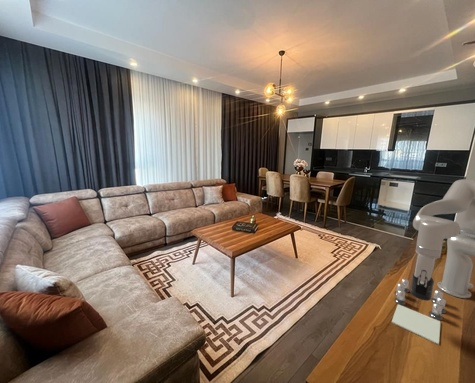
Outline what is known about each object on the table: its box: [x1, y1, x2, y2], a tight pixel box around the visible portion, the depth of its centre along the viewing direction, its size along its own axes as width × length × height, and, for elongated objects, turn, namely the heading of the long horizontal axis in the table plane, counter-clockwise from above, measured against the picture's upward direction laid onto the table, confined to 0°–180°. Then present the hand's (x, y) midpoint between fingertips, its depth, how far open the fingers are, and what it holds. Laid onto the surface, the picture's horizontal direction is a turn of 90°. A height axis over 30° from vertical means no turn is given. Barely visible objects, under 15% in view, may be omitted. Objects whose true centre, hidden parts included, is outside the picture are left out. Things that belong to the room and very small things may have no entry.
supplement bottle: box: [409, 271, 435, 301], centre depth 86 cm, size 7×7×12 cm
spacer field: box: [394, 277, 447, 321], centre depth 102 cm, size 17×19×6 cm
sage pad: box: [391, 303, 441, 346], centre depth 90 cm, size 15×15×1 cm
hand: (421, 289), depth 87 cm, fingers closed on supplement bottle, 6 cm apart
